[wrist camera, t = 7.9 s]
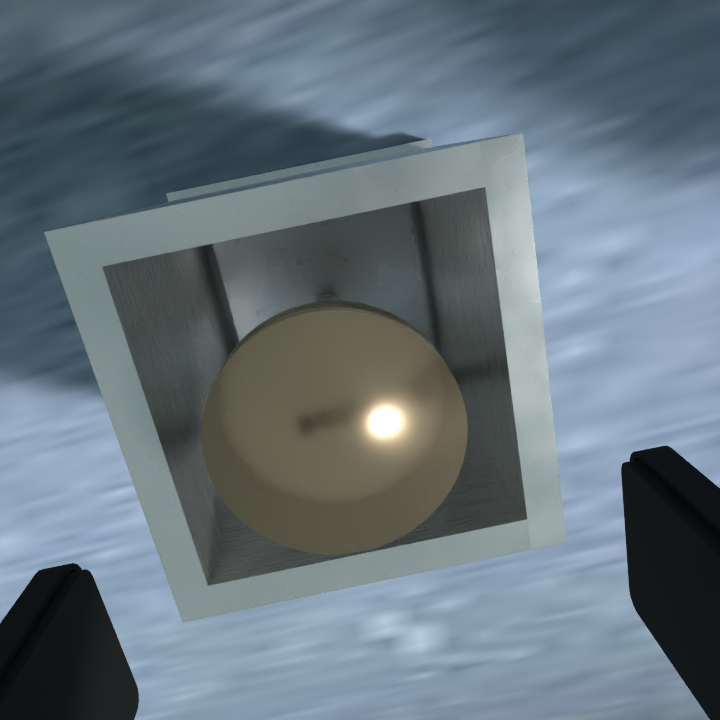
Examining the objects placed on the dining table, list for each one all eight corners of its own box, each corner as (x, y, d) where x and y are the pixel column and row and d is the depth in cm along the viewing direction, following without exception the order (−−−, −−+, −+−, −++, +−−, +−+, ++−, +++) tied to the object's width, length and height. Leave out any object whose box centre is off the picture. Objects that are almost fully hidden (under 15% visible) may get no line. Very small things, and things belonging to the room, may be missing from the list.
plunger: (401, 189, 31) (495, 216, 15) (432, 368, 34) (537, 557, 18) (212, 228, 31) (92, 300, 15) (259, 404, 34) (204, 626, 18)
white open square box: (426, 139, 33) (535, 113, 16) (462, 378, 37) (578, 549, 21) (172, 192, 33) (23, 220, 16) (238, 424, 37) (174, 633, 21)
